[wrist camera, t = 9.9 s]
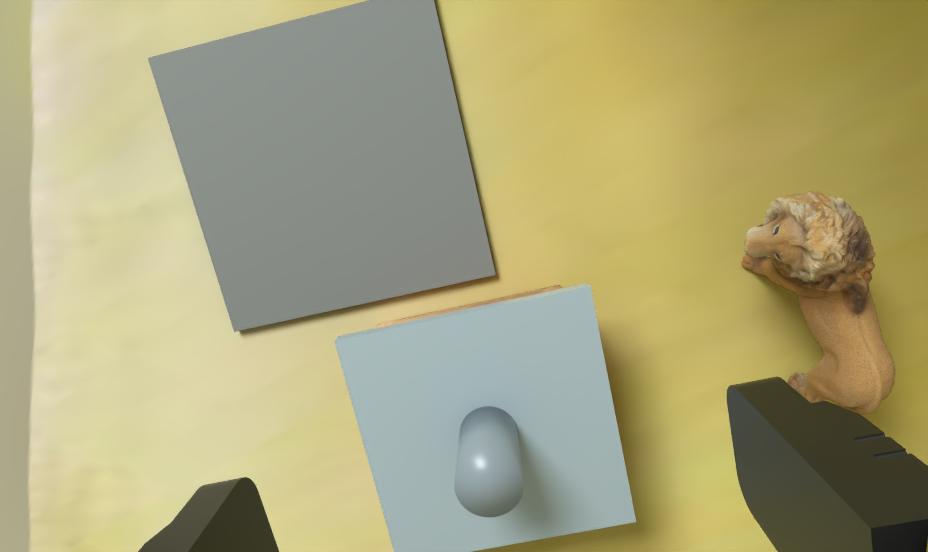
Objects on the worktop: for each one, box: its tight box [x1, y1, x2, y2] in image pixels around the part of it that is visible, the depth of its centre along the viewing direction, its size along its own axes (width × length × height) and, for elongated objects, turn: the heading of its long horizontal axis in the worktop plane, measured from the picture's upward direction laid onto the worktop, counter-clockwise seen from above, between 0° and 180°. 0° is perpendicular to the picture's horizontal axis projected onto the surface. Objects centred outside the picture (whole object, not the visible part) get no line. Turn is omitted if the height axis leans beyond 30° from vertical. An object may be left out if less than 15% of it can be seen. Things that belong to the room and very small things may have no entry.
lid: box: [335, 283, 636, 552], centre depth 29 cm, size 13×13×6 cm
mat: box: [148, 0, 496, 332], centre depth 34 cm, size 16×16×1 cm
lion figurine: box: [742, 192, 895, 414], centre depth 30 cm, size 15×5×9 cm, turn 33°
